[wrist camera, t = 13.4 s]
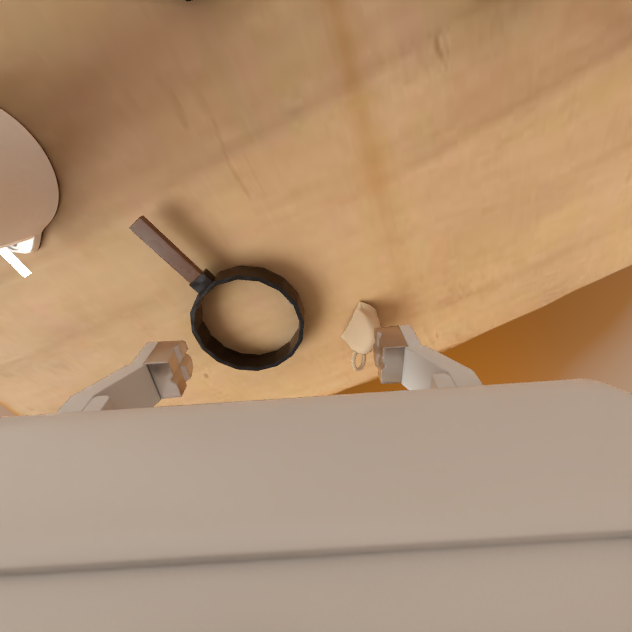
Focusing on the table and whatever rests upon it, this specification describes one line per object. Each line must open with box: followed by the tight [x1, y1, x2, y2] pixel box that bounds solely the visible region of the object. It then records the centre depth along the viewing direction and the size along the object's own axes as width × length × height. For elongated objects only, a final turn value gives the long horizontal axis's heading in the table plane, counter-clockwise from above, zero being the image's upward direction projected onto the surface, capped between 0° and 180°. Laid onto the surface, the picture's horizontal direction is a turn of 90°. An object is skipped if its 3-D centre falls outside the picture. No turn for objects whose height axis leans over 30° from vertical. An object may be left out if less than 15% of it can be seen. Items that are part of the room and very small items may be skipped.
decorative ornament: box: [341, 302, 381, 371], centre depth 46 cm, size 4×8×5 cm, turn 157°
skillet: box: [129, 216, 304, 371], centre depth 43 cm, size 26×15×3 cm, turn 39°
